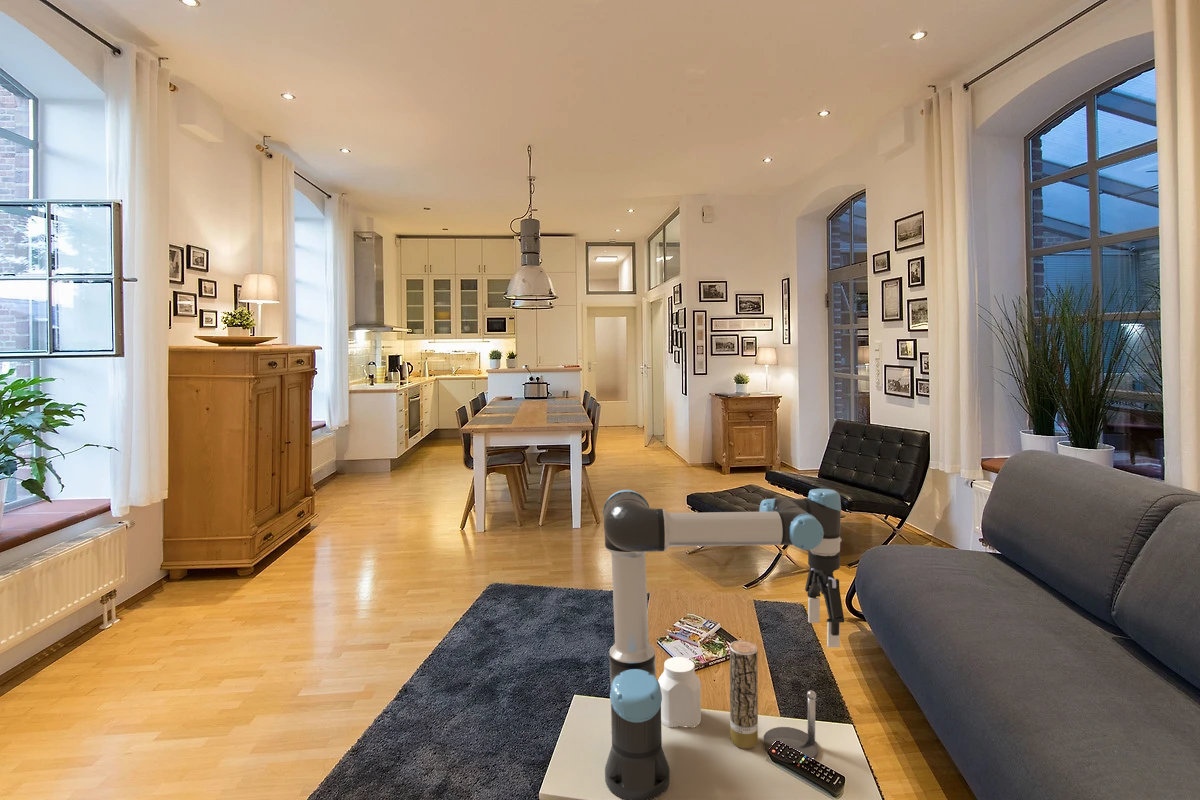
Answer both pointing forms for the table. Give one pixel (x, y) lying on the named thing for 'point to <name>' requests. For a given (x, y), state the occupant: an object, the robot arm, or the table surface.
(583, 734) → the table surface
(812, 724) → the stand
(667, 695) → the jar
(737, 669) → the paper tube
